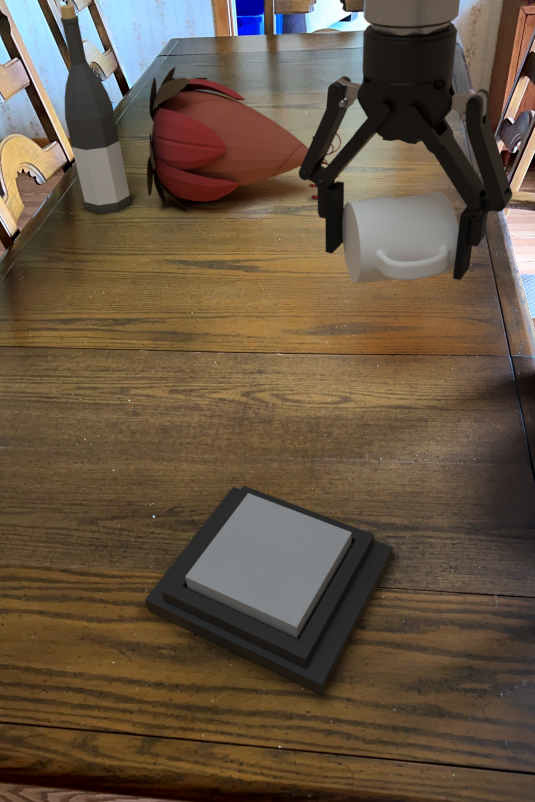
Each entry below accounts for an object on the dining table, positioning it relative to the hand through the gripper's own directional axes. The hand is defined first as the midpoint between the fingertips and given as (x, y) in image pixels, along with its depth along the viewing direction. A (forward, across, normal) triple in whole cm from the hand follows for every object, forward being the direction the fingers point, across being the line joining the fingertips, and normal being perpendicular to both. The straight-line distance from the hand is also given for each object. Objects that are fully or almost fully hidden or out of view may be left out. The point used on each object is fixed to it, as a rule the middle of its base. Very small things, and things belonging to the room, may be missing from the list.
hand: (395, 259), depth 71 cm
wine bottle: (+15, +60, -25) cm, 67 cm away
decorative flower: (+15, +40, -38) cm, 57 cm away
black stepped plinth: (+15, -2, +30) cm, 34 cm away
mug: (+2, 0, 0) cm, 2 cm away
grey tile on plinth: (+13, -2, +30) cm, 33 cm away
